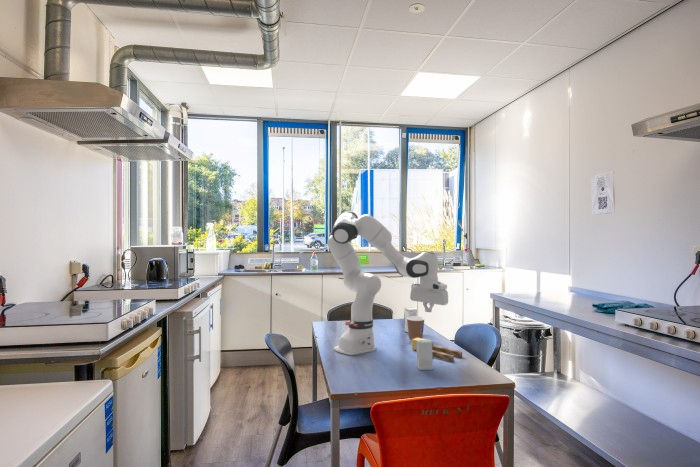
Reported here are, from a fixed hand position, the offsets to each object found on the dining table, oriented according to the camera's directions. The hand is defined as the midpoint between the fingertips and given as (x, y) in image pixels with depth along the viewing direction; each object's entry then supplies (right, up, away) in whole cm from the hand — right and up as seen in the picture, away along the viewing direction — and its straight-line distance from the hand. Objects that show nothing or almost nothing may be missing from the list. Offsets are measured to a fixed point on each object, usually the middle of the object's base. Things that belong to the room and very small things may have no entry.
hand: (428, 311), depth 184 cm
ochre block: (-4, -20, +3) cm, 21 cm away
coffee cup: (-2, -21, +22) cm, 30 cm away
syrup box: (-3, -21, +39) cm, 45 cm away
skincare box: (-7, -20, -24) cm, 32 cm away
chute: (+5, -20, -6) cm, 21 cm away
